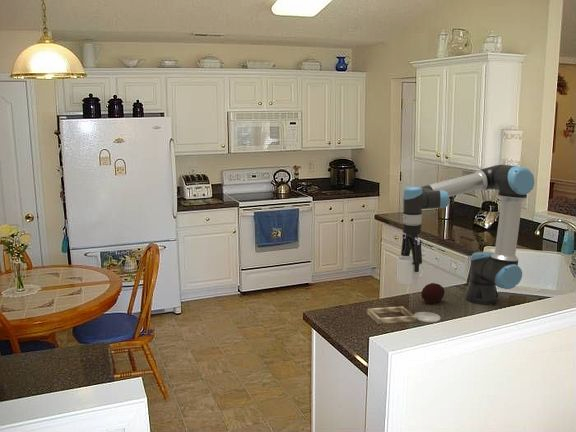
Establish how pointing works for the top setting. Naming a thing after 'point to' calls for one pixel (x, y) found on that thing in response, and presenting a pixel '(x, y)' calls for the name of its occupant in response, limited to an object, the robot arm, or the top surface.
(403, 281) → the mug
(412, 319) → the wooden picture frame
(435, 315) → the plate
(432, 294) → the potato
